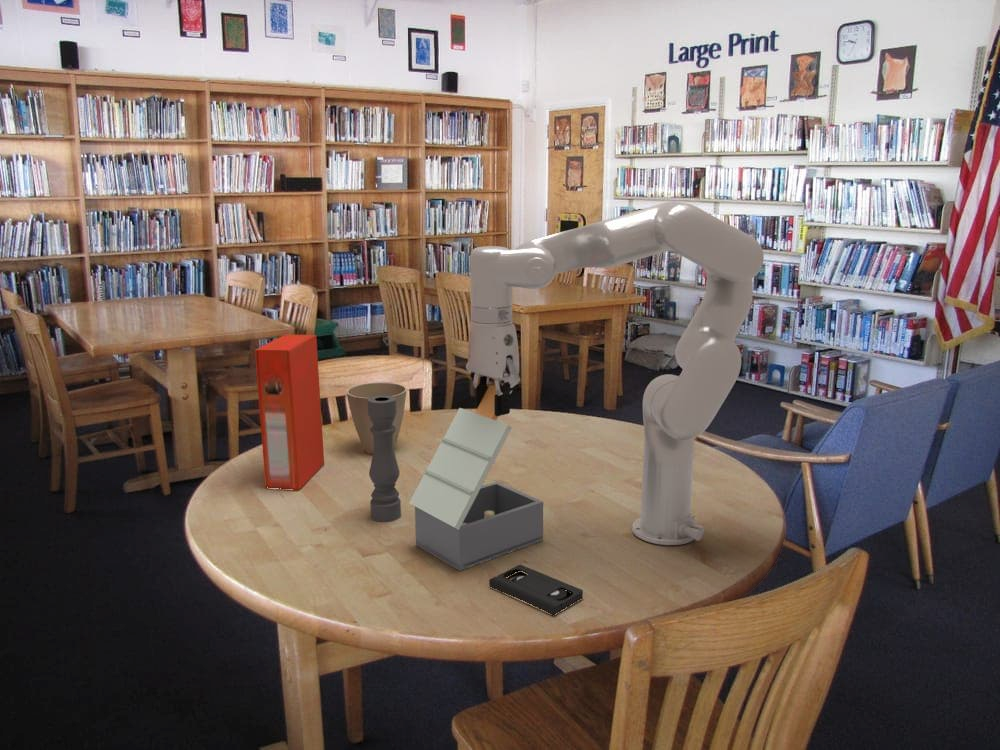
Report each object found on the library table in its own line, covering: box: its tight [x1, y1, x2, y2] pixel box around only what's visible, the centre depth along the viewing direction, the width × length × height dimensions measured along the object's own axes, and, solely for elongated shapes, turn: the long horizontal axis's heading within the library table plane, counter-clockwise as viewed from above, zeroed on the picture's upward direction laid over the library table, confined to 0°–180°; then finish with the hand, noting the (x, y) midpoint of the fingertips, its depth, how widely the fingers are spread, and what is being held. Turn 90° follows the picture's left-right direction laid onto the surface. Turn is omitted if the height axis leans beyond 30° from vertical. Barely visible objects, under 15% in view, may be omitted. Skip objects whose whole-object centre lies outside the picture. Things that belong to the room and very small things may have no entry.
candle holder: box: [368, 396, 402, 523], centre depth 172 cm, size 6×6×25 cm
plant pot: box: [346, 382, 407, 455], centre depth 214 cm, size 15×15×16 cm
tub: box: [414, 481, 544, 572], centre depth 162 cm, size 14×20×8 cm
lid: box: [409, 384, 513, 530], centre depth 156 cm, size 14×26×2 cm
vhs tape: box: [488, 564, 584, 616], centre depth 144 cm, size 14×8×2 cm, turn 47°
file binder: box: [254, 334, 325, 491], centre depth 194 cm, size 8×17×32 cm, turn 173°
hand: (492, 410), depth 159 cm, fingers closed on lid, 5 cm apart
